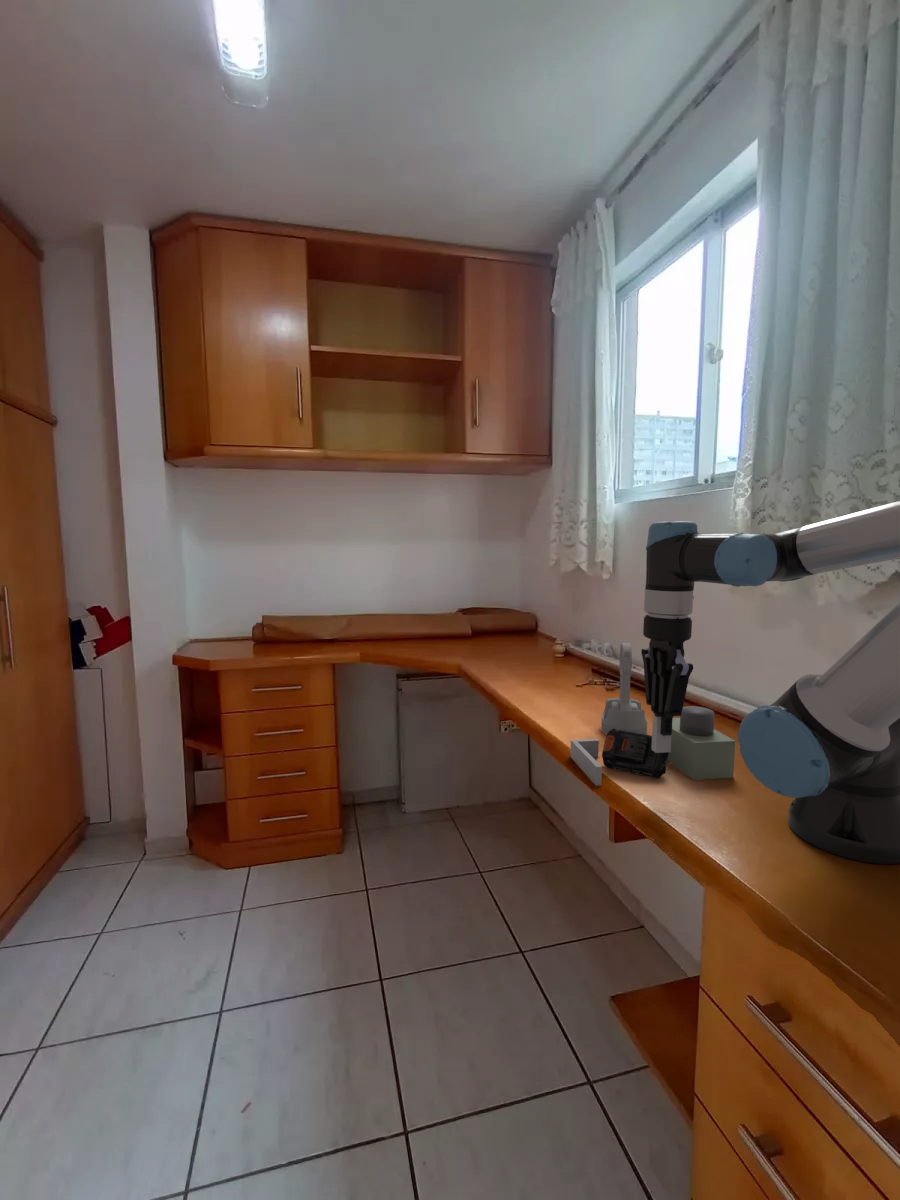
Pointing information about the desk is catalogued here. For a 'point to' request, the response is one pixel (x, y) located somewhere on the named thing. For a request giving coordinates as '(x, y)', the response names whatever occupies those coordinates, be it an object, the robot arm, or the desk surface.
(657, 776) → the battery
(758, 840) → the desk surface
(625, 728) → the engine component
